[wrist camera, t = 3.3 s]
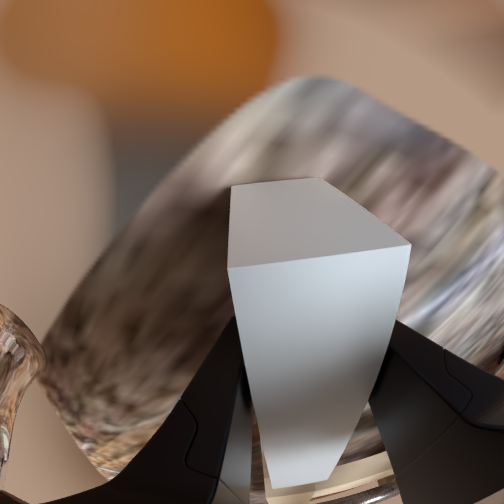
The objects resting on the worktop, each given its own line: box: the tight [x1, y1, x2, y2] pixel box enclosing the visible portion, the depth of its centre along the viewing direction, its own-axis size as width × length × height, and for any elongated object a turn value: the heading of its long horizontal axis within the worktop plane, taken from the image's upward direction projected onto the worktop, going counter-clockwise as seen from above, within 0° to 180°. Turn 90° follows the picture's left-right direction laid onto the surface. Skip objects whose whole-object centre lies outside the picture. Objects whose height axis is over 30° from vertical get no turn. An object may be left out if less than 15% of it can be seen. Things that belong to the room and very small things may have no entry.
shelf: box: [260, 438, 396, 504], centre depth 19 cm, size 18×24×6 cm
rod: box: [317, 480, 400, 504], centre depth 16 cm, size 15×2×2 cm, turn 96°
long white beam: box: [227, 178, 412, 489], centre depth 9 cm, size 3×14×6 cm, turn 6°
